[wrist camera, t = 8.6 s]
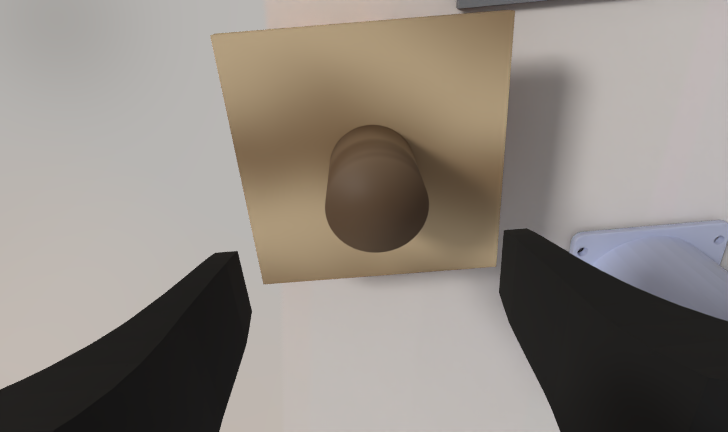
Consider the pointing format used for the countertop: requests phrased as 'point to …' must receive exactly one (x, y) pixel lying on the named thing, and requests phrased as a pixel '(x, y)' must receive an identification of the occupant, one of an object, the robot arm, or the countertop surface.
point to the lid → (370, 142)
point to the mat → (488, 2)
